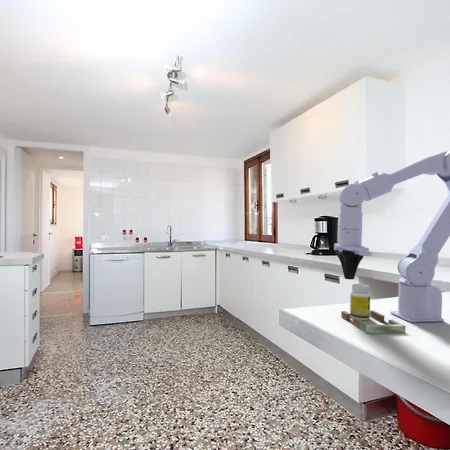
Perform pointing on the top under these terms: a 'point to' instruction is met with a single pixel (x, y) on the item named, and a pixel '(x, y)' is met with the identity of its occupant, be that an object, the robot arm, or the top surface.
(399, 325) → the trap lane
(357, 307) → the supplement bottle
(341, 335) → the top surface
